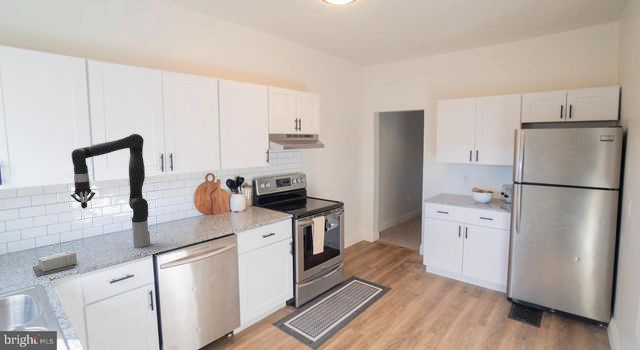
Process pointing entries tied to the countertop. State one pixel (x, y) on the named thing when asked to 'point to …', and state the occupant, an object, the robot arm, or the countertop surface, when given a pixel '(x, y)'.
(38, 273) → the mat
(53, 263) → the skincare box
